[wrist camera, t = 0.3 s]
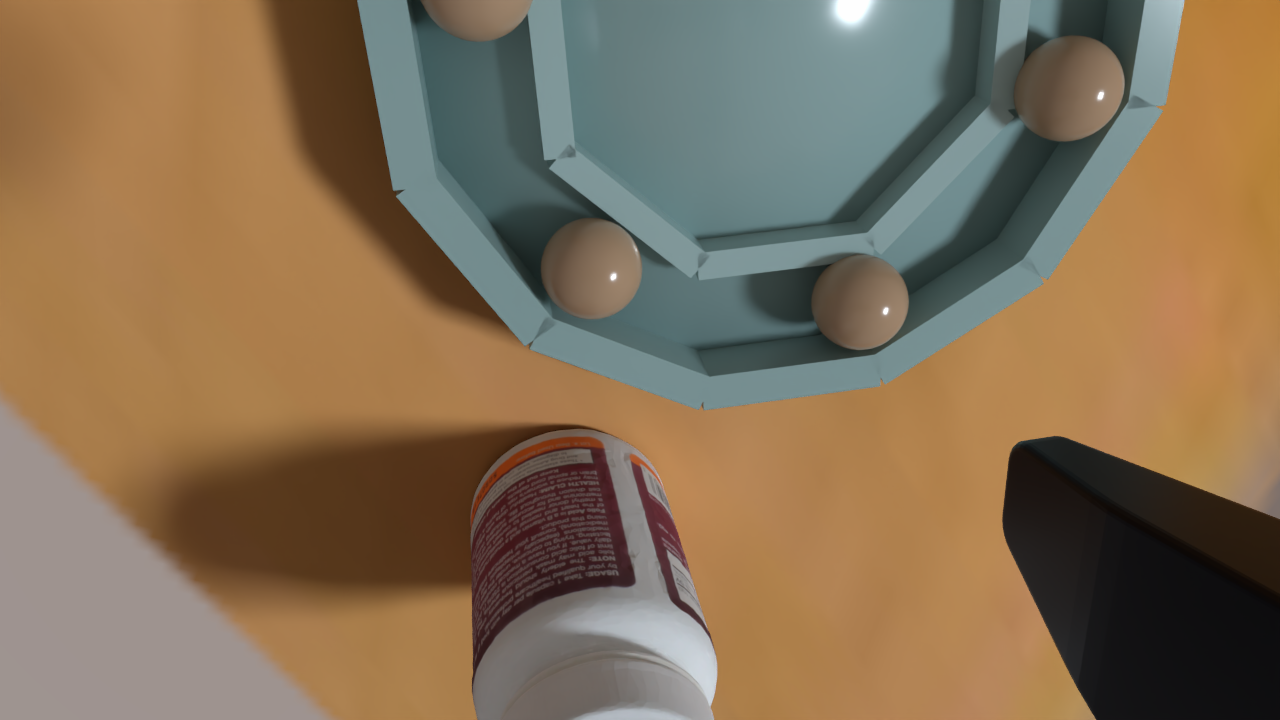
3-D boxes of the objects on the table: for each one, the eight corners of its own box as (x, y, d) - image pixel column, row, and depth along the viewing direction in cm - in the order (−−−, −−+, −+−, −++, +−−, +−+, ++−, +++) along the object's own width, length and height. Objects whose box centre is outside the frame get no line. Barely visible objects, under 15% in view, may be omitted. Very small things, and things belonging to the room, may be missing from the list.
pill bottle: (441, 556, 25) (431, 862, 18) (515, 397, 23) (538, 664, 16) (616, 603, 27) (674, 901, 19) (698, 457, 25) (795, 725, 18)
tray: (1073, 314, 25) (1141, 370, 22) (443, 398, 23) (440, 467, 21) (1195, -480, 17) (1315, -528, 15) (291, -435, 16) (258, -481, 13)
